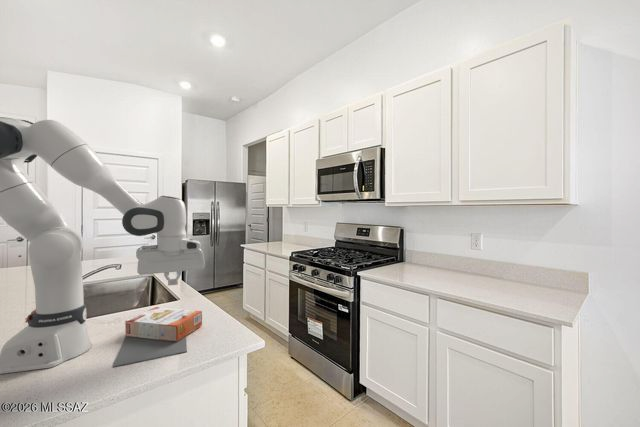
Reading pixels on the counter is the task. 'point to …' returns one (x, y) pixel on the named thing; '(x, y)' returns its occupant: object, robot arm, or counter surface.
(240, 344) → the counter surface
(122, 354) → the mat
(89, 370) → the counter surface
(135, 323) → the cracker box
